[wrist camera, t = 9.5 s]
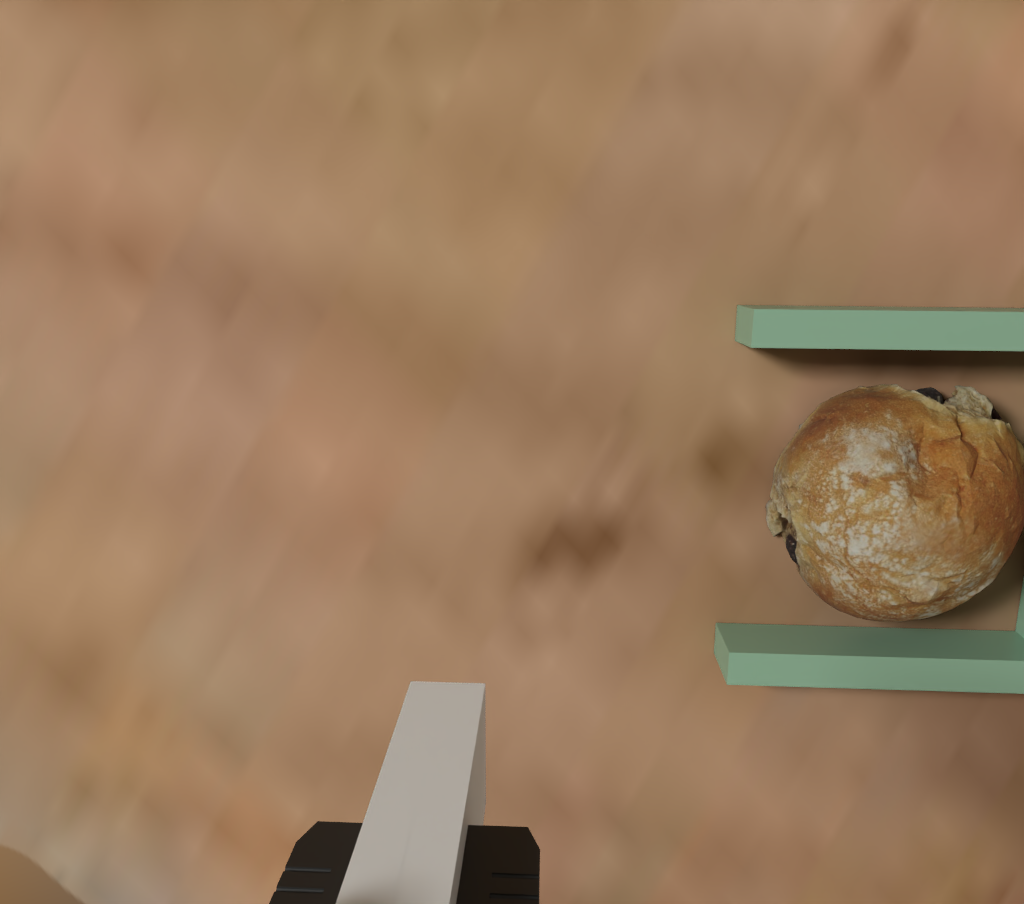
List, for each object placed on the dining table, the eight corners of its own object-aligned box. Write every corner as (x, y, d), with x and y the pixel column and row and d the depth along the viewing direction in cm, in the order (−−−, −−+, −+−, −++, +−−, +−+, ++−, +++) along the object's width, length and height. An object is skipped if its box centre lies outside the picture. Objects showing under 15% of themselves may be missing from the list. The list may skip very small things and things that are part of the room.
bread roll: (743, 416, 40) (707, 491, 34) (966, 318, 34) (975, 387, 28) (839, 581, 42) (823, 684, 35) (1068, 515, 36) (1099, 623, 30)
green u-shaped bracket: (737, 305, 35) (899, 343, 19) (1102, 308, 35) (1602, 352, 18) (713, 652, 39) (832, 942, 22) (1044, 662, 38) (1418, 967, 22)
